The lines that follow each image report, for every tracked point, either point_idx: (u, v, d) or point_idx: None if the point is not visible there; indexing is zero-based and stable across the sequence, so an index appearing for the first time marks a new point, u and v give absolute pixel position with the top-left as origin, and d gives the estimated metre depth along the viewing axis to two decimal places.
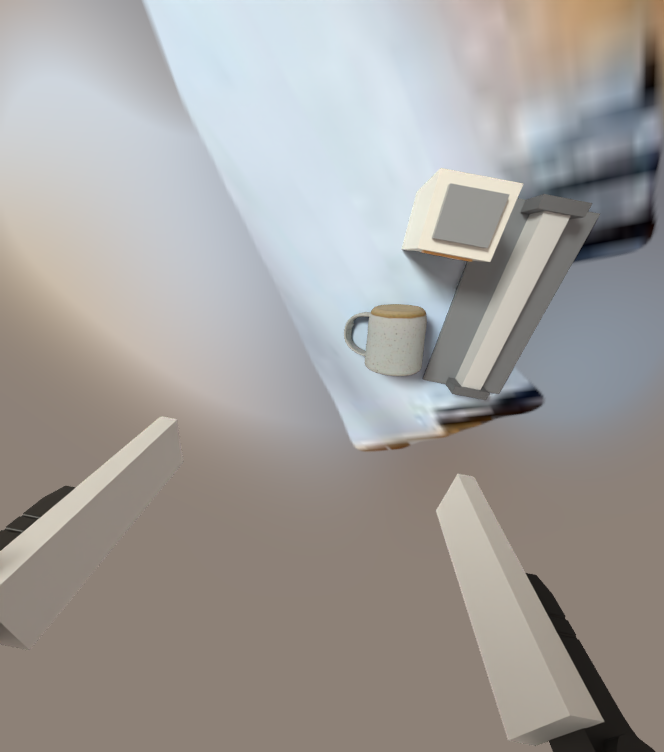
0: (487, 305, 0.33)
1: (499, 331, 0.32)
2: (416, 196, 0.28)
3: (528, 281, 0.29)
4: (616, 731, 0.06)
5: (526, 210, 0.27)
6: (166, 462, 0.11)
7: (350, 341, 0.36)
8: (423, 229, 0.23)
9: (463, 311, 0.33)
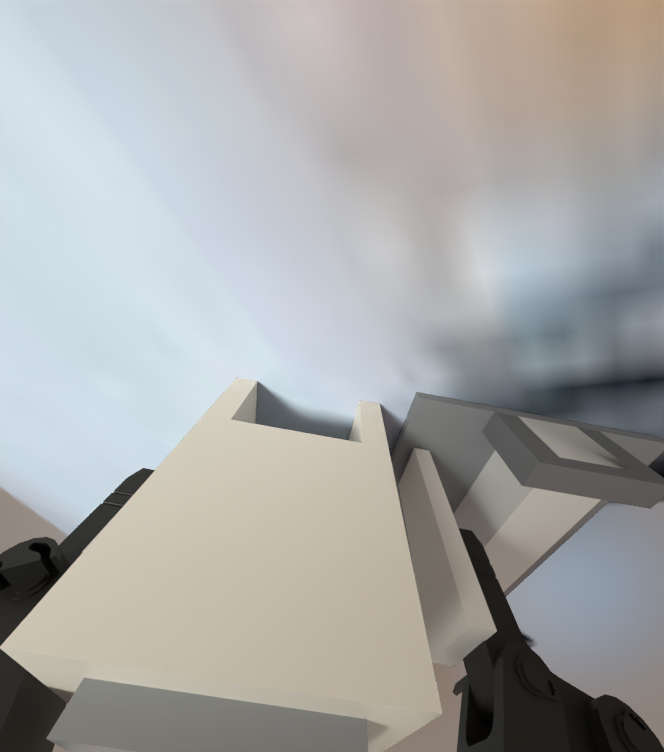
0: None
1: None
2: None
3: (502, 574, 0.13)
4: None
5: (495, 446, 0.11)
6: None
7: None
8: None
9: None
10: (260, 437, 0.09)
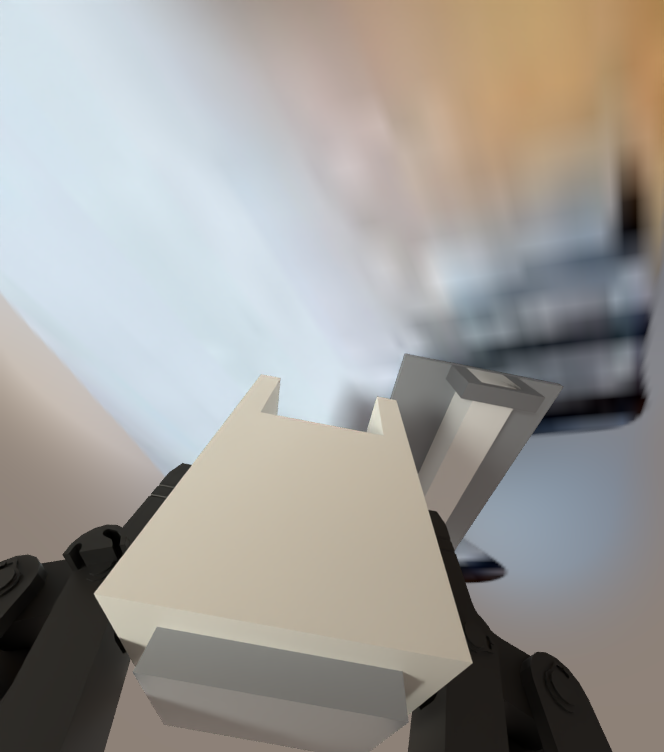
0: None
1: None
2: None
3: (461, 474, 0.20)
4: None
5: (451, 384, 0.18)
6: None
7: None
8: None
9: None
10: (289, 428, 0.09)
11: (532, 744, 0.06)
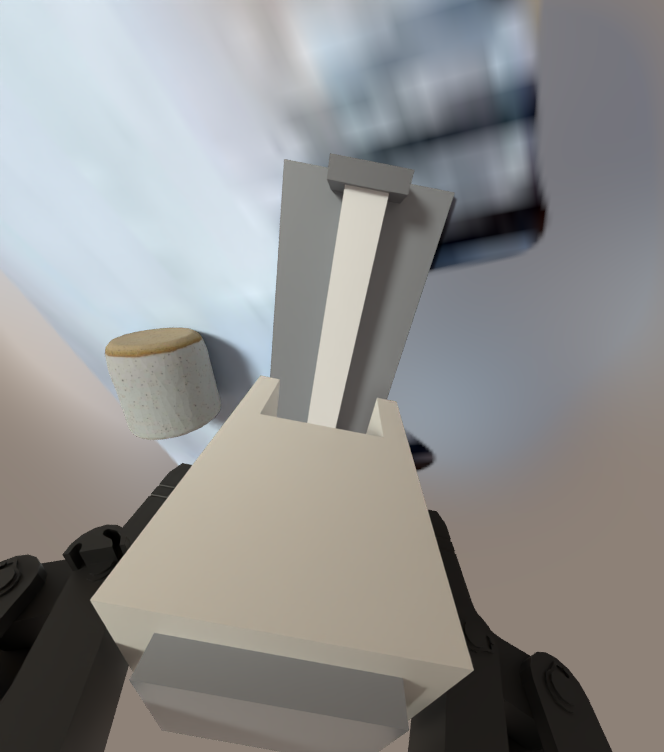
0: (322, 332, 0.22)
1: (332, 372, 0.21)
2: None
3: (352, 300, 0.18)
4: None
5: (330, 185, 0.17)
6: None
7: None
8: None
9: (291, 340, 0.23)
10: (288, 430, 0.09)
11: (532, 744, 0.06)
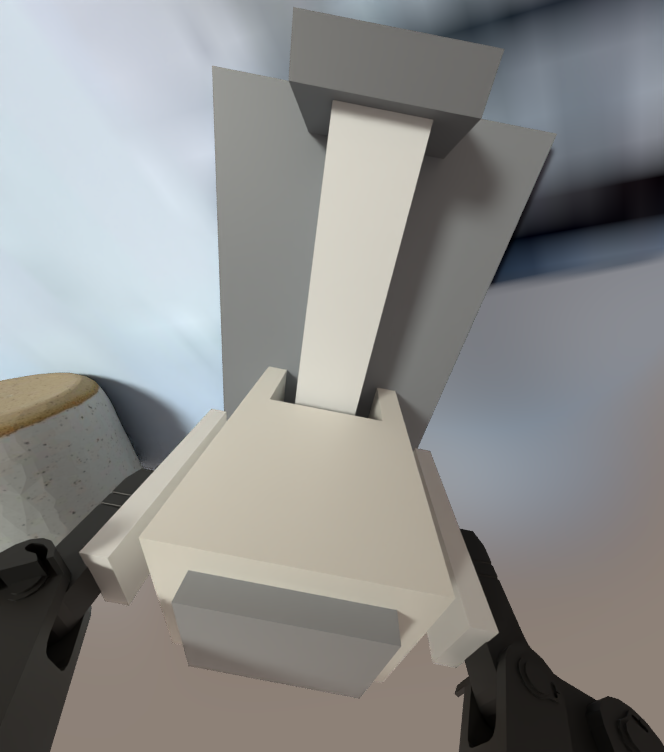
0: None
1: None
2: None
3: (350, 344, 0.10)
4: None
5: (304, 116, 0.08)
6: None
7: None
8: None
9: None
10: (296, 413, 0.10)
11: None
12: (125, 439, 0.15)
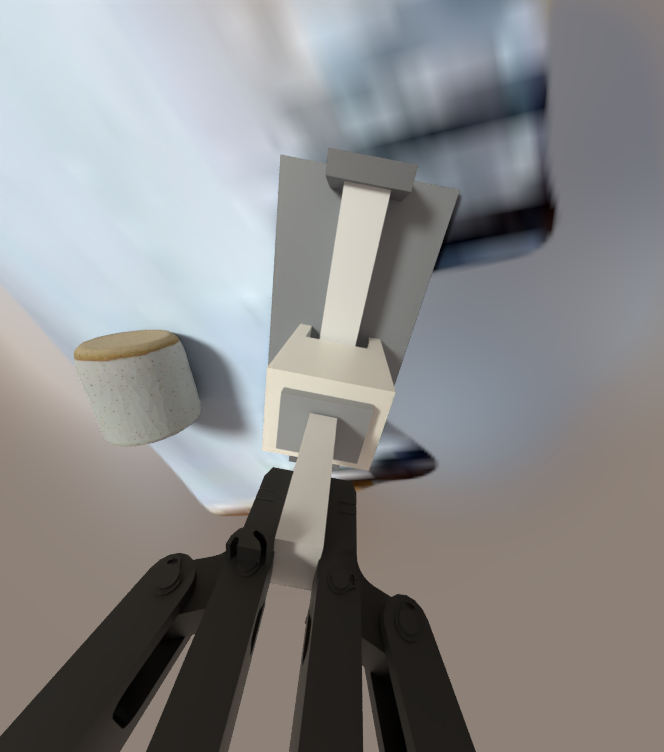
0: None
1: None
2: None
3: (352, 302, 0.18)
4: None
5: (329, 182, 0.16)
6: None
7: None
8: (264, 431, 0.15)
9: None
10: (321, 342, 0.18)
11: None
12: None
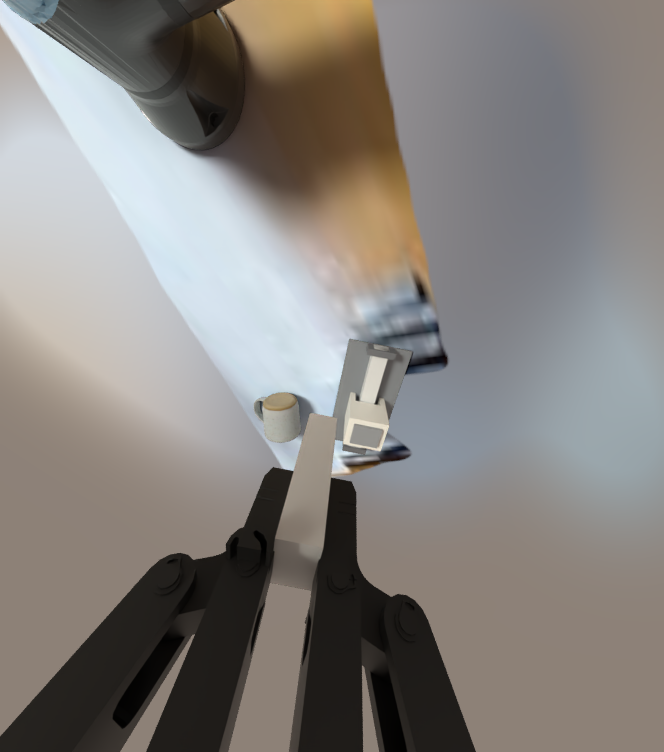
0: (358, 396, 0.51)
1: None
2: (350, 396, 0.50)
3: (373, 389, 0.47)
4: None
5: (366, 350, 0.45)
6: None
7: (259, 413, 0.54)
8: (345, 437, 0.45)
9: (345, 399, 0.52)
10: (362, 403, 0.47)
11: None
12: None
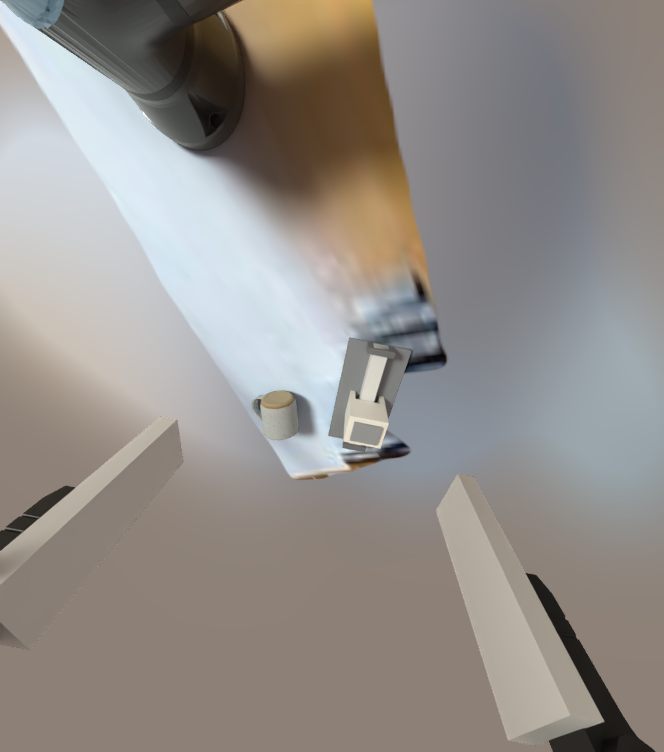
0: (358, 394, 0.52)
1: None
2: (350, 394, 0.51)
3: (373, 387, 0.48)
4: (616, 731, 0.06)
5: (366, 349, 0.46)
6: (166, 462, 0.11)
7: (257, 411, 0.55)
8: (345, 434, 0.45)
9: (345, 397, 0.52)
10: (362, 401, 0.48)
11: None
12: None
